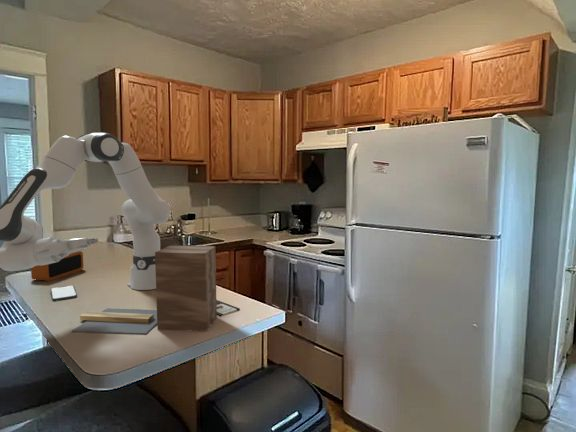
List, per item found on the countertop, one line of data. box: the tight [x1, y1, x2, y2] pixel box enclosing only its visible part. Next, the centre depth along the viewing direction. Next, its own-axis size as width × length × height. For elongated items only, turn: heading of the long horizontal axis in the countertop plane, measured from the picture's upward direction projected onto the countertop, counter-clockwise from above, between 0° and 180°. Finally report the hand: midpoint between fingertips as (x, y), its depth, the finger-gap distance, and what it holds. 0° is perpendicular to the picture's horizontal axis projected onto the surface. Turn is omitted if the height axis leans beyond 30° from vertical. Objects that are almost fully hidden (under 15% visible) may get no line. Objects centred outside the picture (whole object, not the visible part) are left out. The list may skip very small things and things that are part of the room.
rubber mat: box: [71, 308, 157, 335], centre depth 128 cm, size 20×24×1 cm
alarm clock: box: [30, 250, 84, 282], centre depth 186 cm, size 24×8×11 cm, turn 169°
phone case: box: [49, 285, 78, 302], centre depth 156 cm, size 9×2×16 cm
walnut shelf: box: [155, 245, 218, 332], centre depth 125 cm, size 12×16×25 cm
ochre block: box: [79, 311, 154, 323], centre depth 128 cm, size 4×24×2 cm, turn 84°
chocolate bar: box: [216, 299, 241, 317], centre depth 142 cm, size 9×1×18 cm
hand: (91, 241), depth 129 cm, fingers open, 8 cm apart
